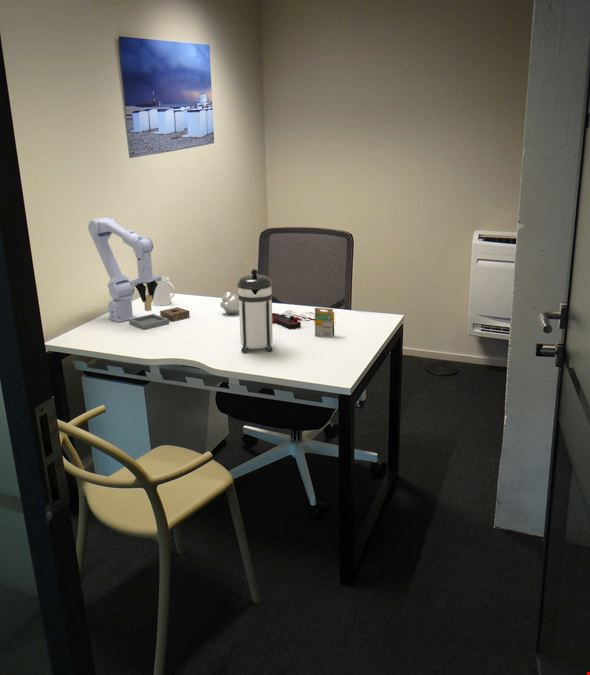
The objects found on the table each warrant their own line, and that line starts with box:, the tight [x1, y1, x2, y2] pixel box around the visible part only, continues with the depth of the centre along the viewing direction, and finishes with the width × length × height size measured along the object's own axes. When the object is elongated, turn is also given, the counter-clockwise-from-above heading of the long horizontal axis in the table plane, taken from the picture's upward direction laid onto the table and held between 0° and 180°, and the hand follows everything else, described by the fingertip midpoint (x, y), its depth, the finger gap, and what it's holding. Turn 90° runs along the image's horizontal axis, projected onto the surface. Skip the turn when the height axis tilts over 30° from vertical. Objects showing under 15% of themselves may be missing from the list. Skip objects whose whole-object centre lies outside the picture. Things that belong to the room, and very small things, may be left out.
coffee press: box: [236, 268, 274, 354], centre depth 249 cm, size 17×16×30 cm
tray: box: [128, 313, 170, 330], centre depth 285 cm, size 12×12×2 cm
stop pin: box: [142, 293, 153, 312], centre depth 282 cm, size 3×3×6 cm
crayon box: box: [314, 307, 335, 338], centre depth 264 cm, size 7×3×12 cm, turn 74°
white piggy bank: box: [219, 291, 239, 315], centre depth 297 cm, size 9×10×10 cm
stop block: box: [159, 306, 191, 322], centre depth 293 cm, size 9×9×3 cm
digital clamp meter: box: [272, 310, 315, 330], centre depth 287 cm, size 23×4×25 cm
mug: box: [152, 276, 176, 306], centre depth 314 cm, size 12×8×12 cm
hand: (147, 300), depth 282 cm, fingers closed on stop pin, 3 cm apart
